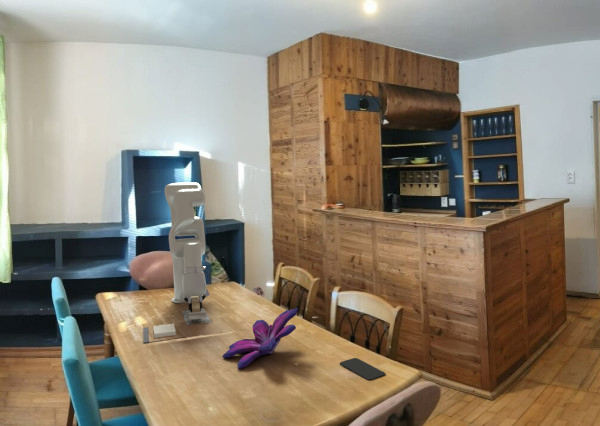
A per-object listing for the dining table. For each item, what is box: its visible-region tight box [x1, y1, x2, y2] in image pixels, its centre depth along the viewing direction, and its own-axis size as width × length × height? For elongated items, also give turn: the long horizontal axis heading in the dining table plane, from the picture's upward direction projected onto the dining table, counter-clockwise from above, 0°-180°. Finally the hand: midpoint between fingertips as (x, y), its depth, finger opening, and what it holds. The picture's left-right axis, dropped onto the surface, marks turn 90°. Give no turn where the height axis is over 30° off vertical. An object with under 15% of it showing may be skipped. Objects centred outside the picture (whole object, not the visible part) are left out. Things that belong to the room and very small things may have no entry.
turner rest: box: [181, 307, 211, 326], centre depth 199 cm, size 22×10×1 cm, turn 19°
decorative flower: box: [221, 307, 299, 370], centre depth 155 cm, size 31×31×10 cm
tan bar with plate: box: [188, 296, 208, 320], centre depth 197 cm, size 18×7×6 cm, turn 19°
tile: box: [153, 323, 177, 339], centre depth 179 cm, size 2×8×10 cm
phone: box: [339, 357, 386, 381], centre depth 141 cm, size 7×1×15 cm
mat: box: [142, 327, 186, 344], centre depth 181 cm, size 18×16×1 cm
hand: (195, 310), depth 198 cm, fingers closed on tan bar with plate, 3 cm apart
